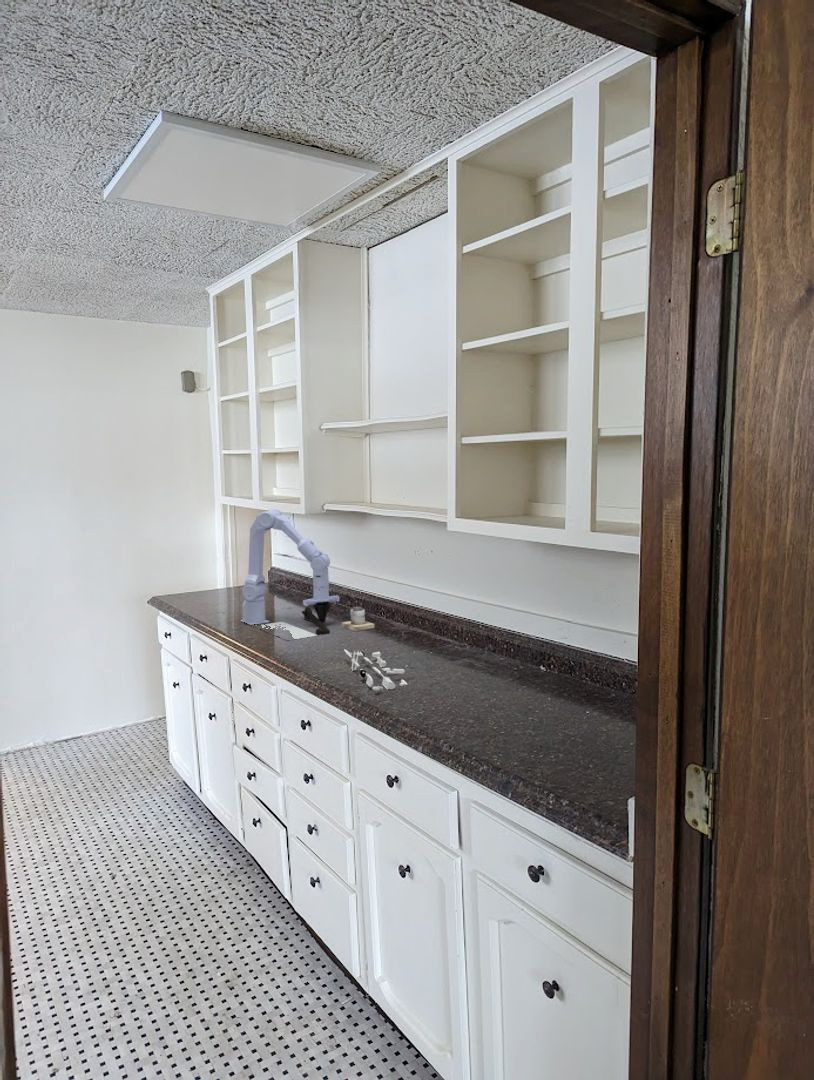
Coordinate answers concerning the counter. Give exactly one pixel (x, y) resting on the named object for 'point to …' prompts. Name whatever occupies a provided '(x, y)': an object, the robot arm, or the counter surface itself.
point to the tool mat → (291, 630)
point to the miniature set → (386, 681)
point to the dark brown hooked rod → (315, 621)
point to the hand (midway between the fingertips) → (322, 622)
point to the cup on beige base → (358, 620)
